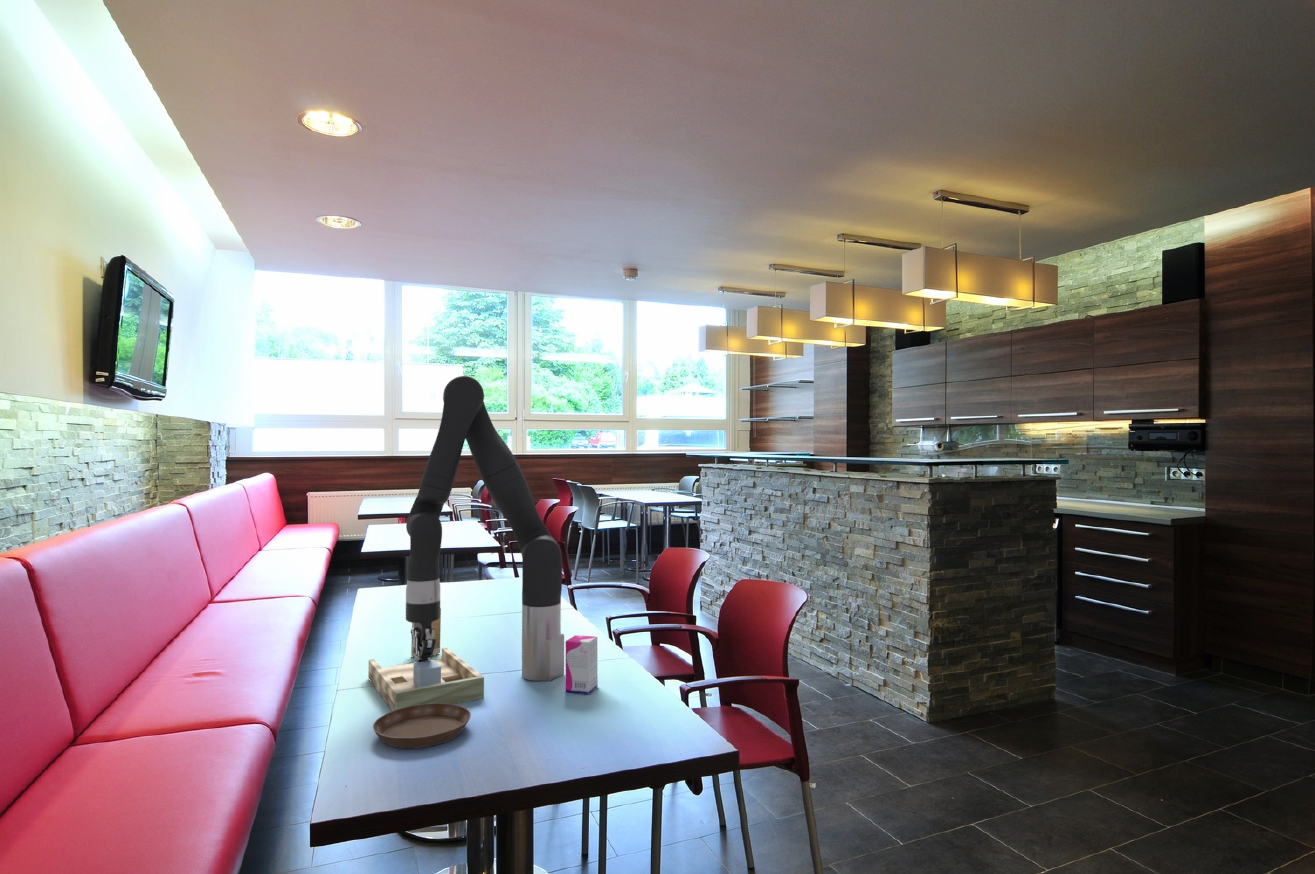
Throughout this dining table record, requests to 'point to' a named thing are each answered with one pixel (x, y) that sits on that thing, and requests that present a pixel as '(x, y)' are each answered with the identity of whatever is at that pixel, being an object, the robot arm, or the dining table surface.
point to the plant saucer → (421, 725)
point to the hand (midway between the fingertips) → (422, 674)
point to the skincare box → (437, 627)
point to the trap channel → (454, 686)
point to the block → (426, 673)
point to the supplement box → (581, 664)
